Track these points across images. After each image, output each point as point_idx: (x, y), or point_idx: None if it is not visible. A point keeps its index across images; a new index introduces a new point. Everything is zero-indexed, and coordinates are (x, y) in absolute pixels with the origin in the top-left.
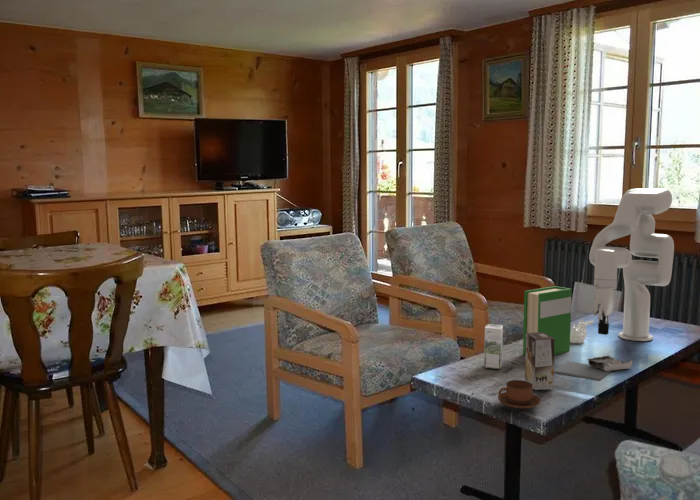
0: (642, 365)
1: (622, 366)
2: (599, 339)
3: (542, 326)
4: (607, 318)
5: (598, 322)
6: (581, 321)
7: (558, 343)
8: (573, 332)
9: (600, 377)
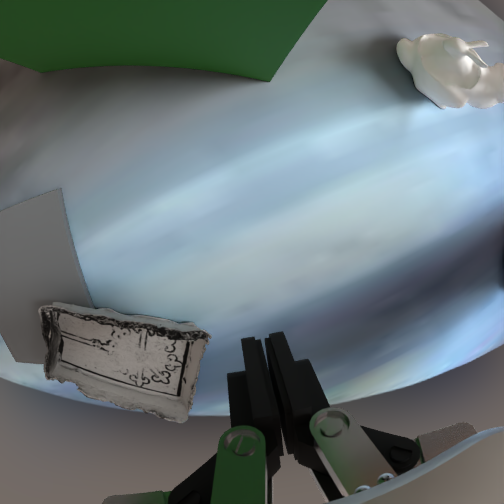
0: None
1: (138, 396)
2: (498, 148)
3: None
4: (322, 488)
5: (221, 437)
6: None
7: (153, 43)
8: (442, 50)
9: (23, 359)
